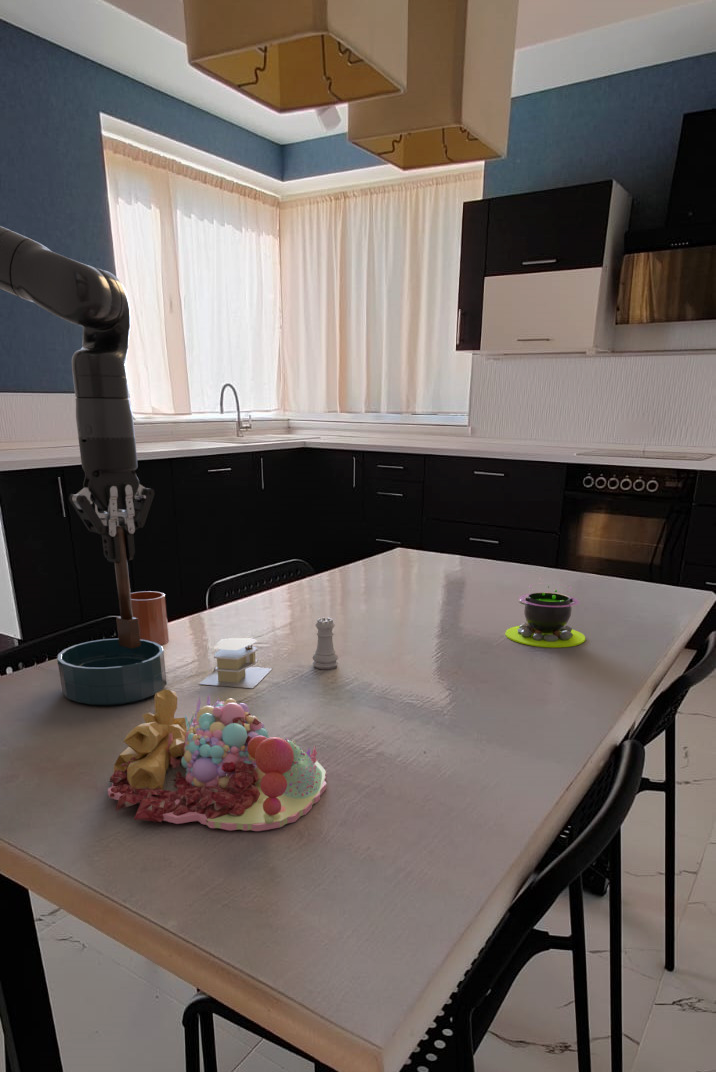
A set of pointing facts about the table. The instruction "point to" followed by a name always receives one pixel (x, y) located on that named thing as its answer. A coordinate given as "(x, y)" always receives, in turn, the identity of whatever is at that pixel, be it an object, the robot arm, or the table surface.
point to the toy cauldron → (546, 621)
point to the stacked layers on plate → (236, 664)
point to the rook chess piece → (325, 645)
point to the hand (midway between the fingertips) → (120, 560)
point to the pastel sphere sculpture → (214, 769)
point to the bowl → (111, 672)
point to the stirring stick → (125, 599)
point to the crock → (151, 616)
